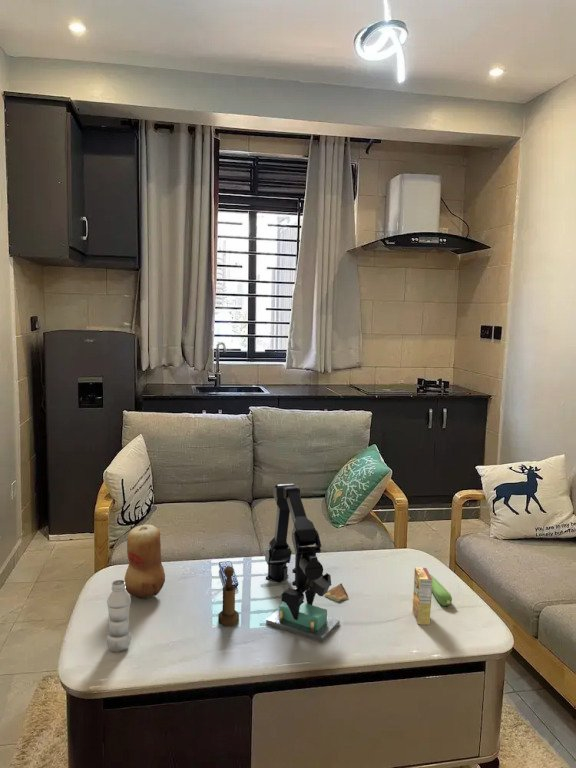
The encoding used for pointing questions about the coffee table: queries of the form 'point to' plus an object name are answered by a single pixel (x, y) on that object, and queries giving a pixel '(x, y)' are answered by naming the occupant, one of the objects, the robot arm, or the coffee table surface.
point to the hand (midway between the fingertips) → (303, 613)
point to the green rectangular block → (306, 615)
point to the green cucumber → (440, 593)
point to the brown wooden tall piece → (228, 602)
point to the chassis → (303, 627)
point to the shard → (337, 593)
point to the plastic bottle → (118, 617)
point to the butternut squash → (144, 562)
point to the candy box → (422, 596)
